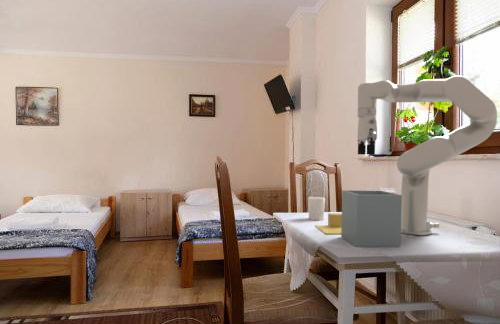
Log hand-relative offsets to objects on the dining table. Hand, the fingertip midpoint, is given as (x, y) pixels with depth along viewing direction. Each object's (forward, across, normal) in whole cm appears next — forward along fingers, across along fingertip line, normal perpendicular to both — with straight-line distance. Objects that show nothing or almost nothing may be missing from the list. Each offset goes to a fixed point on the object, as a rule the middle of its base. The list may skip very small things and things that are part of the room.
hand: (366, 154), depth 158 cm
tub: (+30, -27, +9) cm, 42 cm away
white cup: (+31, +18, +16) cm, 39 cm away
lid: (+31, -7, +13) cm, 34 cm away
